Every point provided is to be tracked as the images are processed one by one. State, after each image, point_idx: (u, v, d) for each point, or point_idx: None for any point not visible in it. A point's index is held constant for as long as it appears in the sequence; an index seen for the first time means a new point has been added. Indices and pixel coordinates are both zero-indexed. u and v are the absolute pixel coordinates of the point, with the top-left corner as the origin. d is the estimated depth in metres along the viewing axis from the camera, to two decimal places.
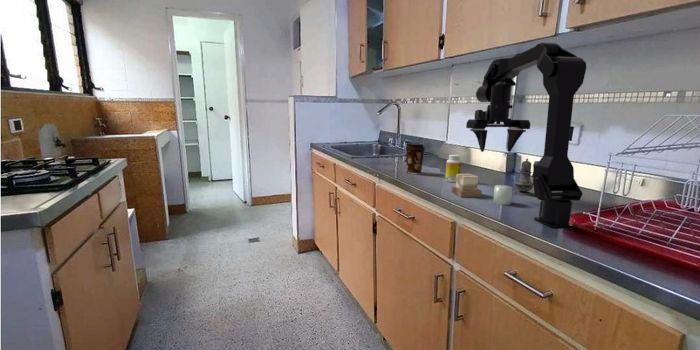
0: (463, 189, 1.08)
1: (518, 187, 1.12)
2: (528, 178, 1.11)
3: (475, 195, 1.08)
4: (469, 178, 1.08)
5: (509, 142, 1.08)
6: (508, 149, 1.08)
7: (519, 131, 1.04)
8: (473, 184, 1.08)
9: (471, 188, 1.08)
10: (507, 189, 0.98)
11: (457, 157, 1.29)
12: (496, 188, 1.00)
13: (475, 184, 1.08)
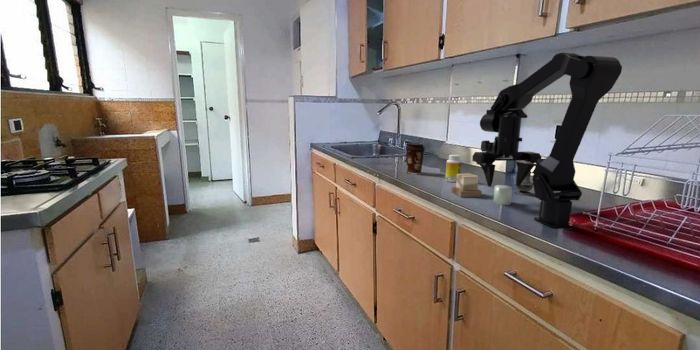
0: (464, 189, 1.08)
1: (518, 187, 1.12)
2: (528, 178, 1.11)
3: (475, 195, 1.08)
4: (469, 178, 1.08)
5: (518, 176, 1.01)
6: (517, 183, 1.01)
7: (529, 165, 0.97)
8: (474, 184, 1.08)
9: (472, 188, 1.09)
10: (507, 189, 0.98)
11: (457, 157, 1.29)
12: (496, 188, 1.00)
13: (475, 184, 1.08)
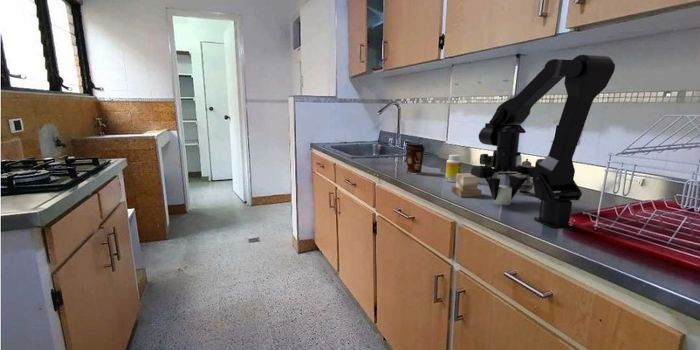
0: (463, 189, 1.08)
1: None
2: (528, 178, 1.11)
3: (475, 195, 1.08)
4: (469, 178, 1.08)
5: None
6: None
7: (521, 179, 0.98)
8: (473, 184, 1.08)
9: (471, 188, 1.08)
10: (507, 189, 0.98)
11: (457, 157, 1.29)
12: None
13: (475, 184, 1.08)
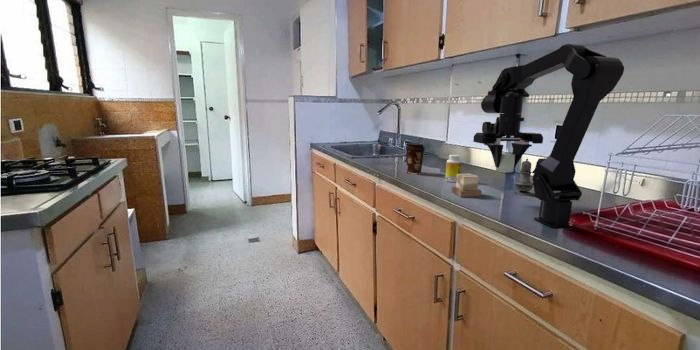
0: (464, 189, 1.08)
1: (518, 187, 1.12)
2: (528, 178, 1.11)
3: (475, 195, 1.08)
4: (469, 178, 1.07)
5: None
6: None
7: (524, 146, 0.96)
8: (474, 184, 1.08)
9: (471, 188, 1.08)
10: (510, 156, 0.97)
11: (457, 157, 1.29)
12: None
13: (475, 184, 1.08)
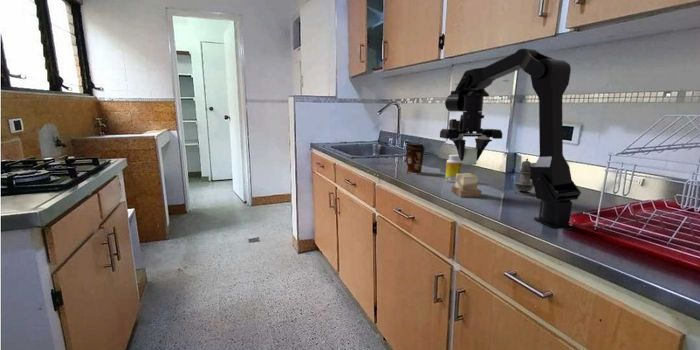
0: (463, 189, 1.08)
1: (518, 187, 1.12)
2: (528, 178, 1.11)
3: (475, 195, 1.08)
4: (469, 178, 1.08)
5: None
6: None
7: (485, 141, 1.05)
8: (473, 184, 1.08)
9: (471, 188, 1.09)
10: (472, 149, 1.06)
11: (457, 157, 1.29)
12: None
13: (475, 184, 1.09)
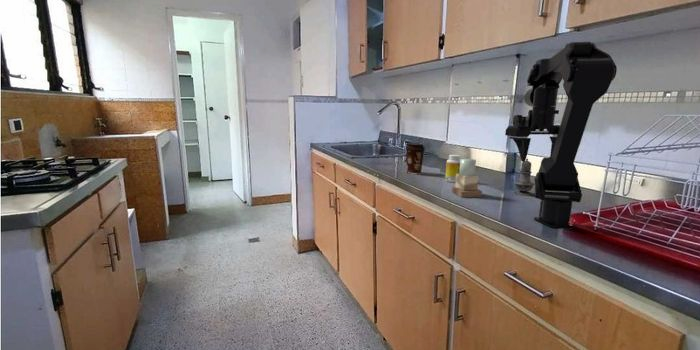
0: (464, 189, 1.08)
1: (518, 187, 1.12)
2: (528, 178, 1.11)
3: (475, 195, 1.08)
4: (470, 177, 1.08)
5: (552, 151, 0.97)
6: None
7: None
8: (474, 184, 1.09)
9: (472, 187, 1.09)
10: (471, 161, 1.08)
11: (457, 157, 1.29)
12: (461, 161, 1.09)
13: (475, 183, 1.09)
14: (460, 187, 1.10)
